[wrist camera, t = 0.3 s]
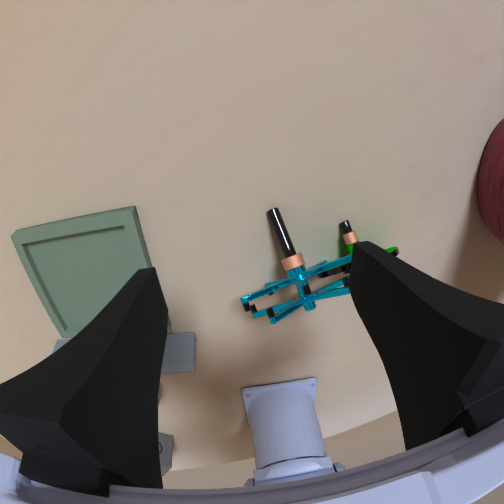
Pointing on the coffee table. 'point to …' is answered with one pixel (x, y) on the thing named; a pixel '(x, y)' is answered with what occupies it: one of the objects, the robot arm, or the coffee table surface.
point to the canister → (493, 183)
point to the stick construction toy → (303, 274)
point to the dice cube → (165, 452)
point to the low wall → (171, 352)
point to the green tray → (82, 263)
